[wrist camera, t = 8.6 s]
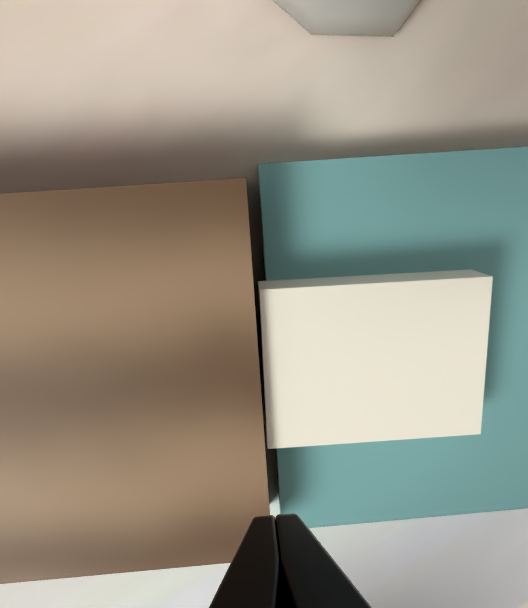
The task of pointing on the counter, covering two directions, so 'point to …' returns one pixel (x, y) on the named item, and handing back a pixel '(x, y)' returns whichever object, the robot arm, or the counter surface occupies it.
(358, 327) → the cream tile
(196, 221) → the walnut deck
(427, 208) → the teal mat
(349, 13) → the flask
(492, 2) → the counter surface
